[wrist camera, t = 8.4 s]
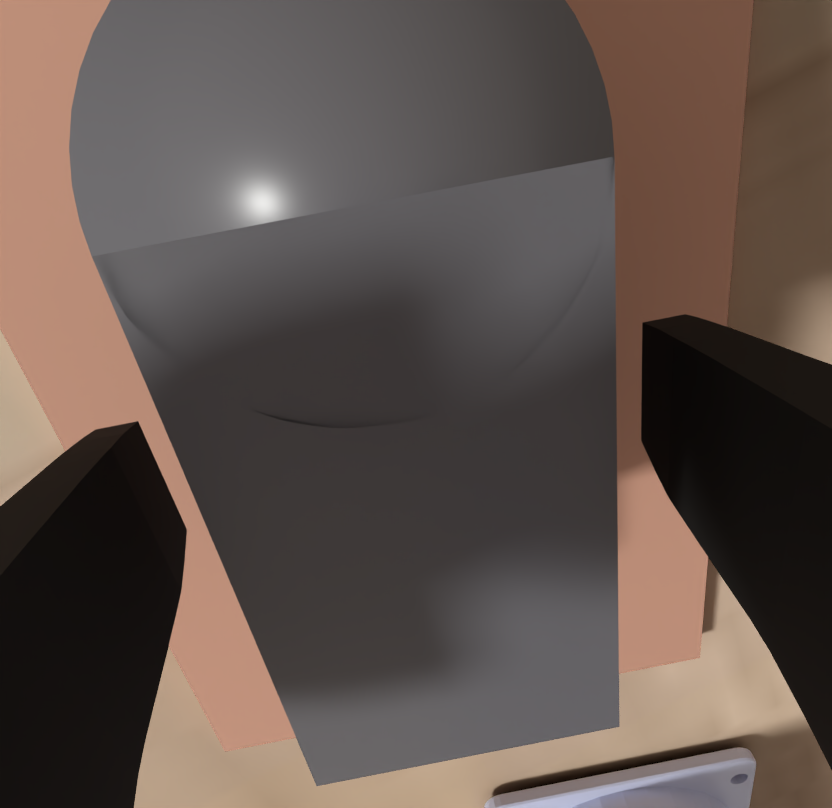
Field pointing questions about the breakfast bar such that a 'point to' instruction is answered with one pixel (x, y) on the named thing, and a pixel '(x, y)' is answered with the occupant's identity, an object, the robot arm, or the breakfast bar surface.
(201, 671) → the rubber mat
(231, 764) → the breakfast bar surface
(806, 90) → the breakfast bar surface
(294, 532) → the grey round-top block
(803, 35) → the breakfast bar surface
